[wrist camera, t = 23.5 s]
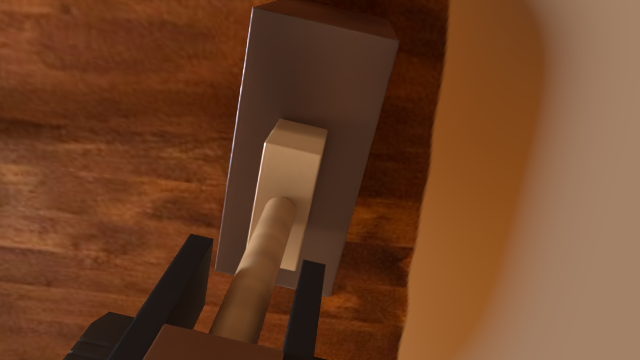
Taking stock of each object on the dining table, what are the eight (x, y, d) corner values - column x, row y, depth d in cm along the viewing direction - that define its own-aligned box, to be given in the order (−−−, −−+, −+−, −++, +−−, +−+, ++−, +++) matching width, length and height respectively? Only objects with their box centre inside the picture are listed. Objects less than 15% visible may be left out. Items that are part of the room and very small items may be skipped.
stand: (388, 18, 33) (400, 40, 22) (340, 206, 39) (330, 298, 28) (290, -4, 33) (251, 6, 22) (257, 187, 39) (214, 271, 28)
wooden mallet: (275, 117, 24) (102, 367, 8) (333, 130, 24) (273, 406, 8) (256, 220, 26) (94, 572, 10) (309, 232, 26) (227, 602, 10)
